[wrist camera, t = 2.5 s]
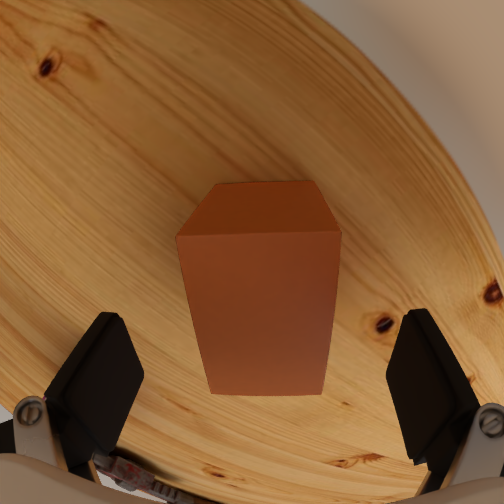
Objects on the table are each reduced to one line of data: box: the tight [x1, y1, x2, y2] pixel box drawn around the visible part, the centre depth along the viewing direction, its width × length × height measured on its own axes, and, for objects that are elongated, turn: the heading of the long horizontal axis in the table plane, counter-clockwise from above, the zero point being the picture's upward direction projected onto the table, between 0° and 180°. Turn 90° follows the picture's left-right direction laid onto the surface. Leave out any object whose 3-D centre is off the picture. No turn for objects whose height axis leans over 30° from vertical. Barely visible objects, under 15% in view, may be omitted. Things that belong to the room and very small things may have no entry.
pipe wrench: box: [93, 454, 216, 504], centre depth 32 cm, size 40×12×5 cm, turn 43°
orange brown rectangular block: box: [175, 181, 342, 396], centre depth 12 cm, size 7×4×6 cm, turn 4°
